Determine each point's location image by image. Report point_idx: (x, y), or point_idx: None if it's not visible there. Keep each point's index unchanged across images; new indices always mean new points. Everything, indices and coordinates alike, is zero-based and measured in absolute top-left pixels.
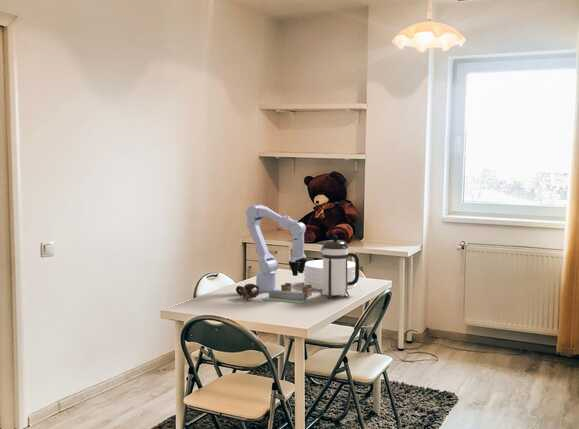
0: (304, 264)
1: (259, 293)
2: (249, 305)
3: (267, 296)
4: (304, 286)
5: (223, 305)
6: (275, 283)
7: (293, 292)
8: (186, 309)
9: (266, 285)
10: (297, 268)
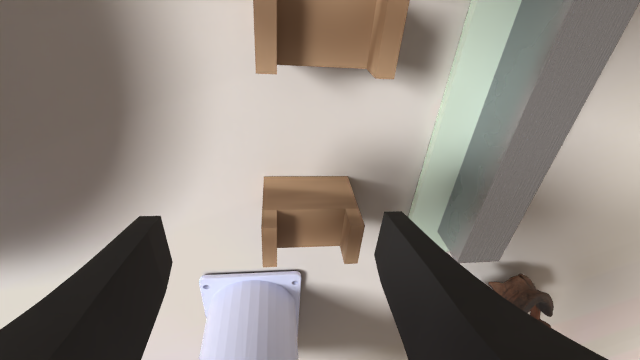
0: (44, 347)
1: (502, 283)
2: (618, 242)
3: (442, 247)
4: (382, 51)
5: (597, 311)
6: (232, 317)
7: (556, 95)
8: (635, 356)
9: (296, 331)
10: (497, 295)
